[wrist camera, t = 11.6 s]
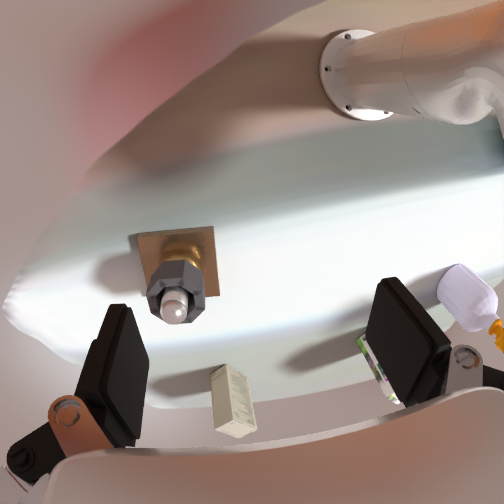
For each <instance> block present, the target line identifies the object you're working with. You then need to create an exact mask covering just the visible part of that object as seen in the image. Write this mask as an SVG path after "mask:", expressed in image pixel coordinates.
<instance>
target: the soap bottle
mask: <svg viewBox="0 0 504 504" xmlns="http://www.w3.org/2000/svg"><path fill="white" fill-rule="evenodd" d="M437 298H438V300H439V301H440V302H441V303H442V304H443V305H444V306H445V307H446V309H447V310H448V311H449V312H450V313H451V314H452V315H453V316H454V318H455V319H456V320H457V321H458V322H459V323H460V324H461V326H462V327H463V328H464V329H465V330H467V331H469V332H475V331H479V330H481V329H483V328H484V329H485V330H486V331H487V332H488V333H489V334H490V335H493V334H496V335H497V337H496V342H495V344H496V346H497V348H498V349H501V350H502V352H503V353H504V328H502V327H501V324H502V321H501V319H500V318H498V316H497V315H496V310H497V304H498V298H497V296H496V293H495V291H494V290H493V289H492V288H491V287H490V286H489V285H488V284H486V283H485V282H484V281H483V280H482V279H481V278H480V277H479V276H478V275H476V274H475V273H474V272H473V271H472V270H471V269H470V268H468V267H467V266H466V265H463V264H458V265H455V266H453V267H452V268H450V269H449V270H448V271H447V272H446V273H445V274H444V276H443V277H442V279H441V280H440V282H439V285H438V288H437Z"/></svg>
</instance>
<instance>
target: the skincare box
mask: <svg viewBox="0 0 504 504" xmlns="http://www.w3.org/2000/svg"><path fill="white" fill-rule="evenodd" d="M210 381H211V393H212V405H213V416H214V426H215V430H217V431H220V432H222V433H225V434H228V435H231V436H233V437H236V438H242V437H244V436H246V435H248V434H250V433H252V432H255V431H257V425H256V420H255V416H254V410H253V405H252V400H251V395H250V389H249V384H248V379H247V377H246V376H245V375H243V374H241V373H240V372H238V371H236V370H235V369H233V368H232V367H230V366H228V365H224V366H223V367H221V368H219V369H218V370H216V371H215V372H213V373H212V374H210Z"/></svg>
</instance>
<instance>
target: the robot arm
mask: <svg viewBox="0 0 504 504" xmlns="http://www.w3.org/2000/svg"><path fill="white" fill-rule="evenodd" d="M345 36H346V38H345ZM325 68H327V71H325ZM319 72H320V78H321V82H322V85H323V88H324V90H325V92H326V94H327V96H328V97H329V99H330V100H331V101H332V102H333V104H334V105H335V106H336V107H337V108H338V109H340V110H341V111H342V112H344V113H345V114H347V115H348V116H351V117H353V118H356V119H360V120H365V121H377V120H381V119H384V118H387V117H389V116H390V115H392V114H393V113H398V114H404V115H410V116H415V117H421V118H426V119H431V120H435V121H440V122H446V123H450V124H456V125H468V124H472V123H475V122H478V121H480V120H481V119H483V118H484V117H486V116H487V115H488V114H489V113H490V112H491V111H492V110H494V111H495V113H496V116H497V118H498V121H499V124H500V128H501V132H502V136H503V138H504V0H498V1H495V2H492V3H489V4H486V5H483V6H480V7H477V8H474V9H470V10H467V11H464V12H460V13H456V14H452V15H448V16H443V17H439V18H434V19H429V20H425V21H421V22H416V23H412V24H408V25H404V26H400V27H397V28H393V29H389V30H386V31H382V32H379V33H375V32H372V31H369V30H364V29H352V30H347V31H344V32H342V33H340V34H338V35H336V36H335V37H333V38H332V39H331V40H330V41H329V42H328V43H327V45H326V46H325V48H324V50H323V52H322V54H321V59H320V68H319ZM346 105H347V107H348V108H347V109H346ZM383 111H384V112H383ZM365 338H366V341H367V343H368V345H369V347H370V349H371V350H372V352H373V354H374V356H375V358H376V359H377V361H378V363H379V365H380V367H381V368H382V370H383V372H384V374H385V376H386V378H387V379H388V381H389V383H390V385H391V387H392V389H393V391H394V393H395V394H396V396H397V398H398V400H399V401H400V402H403V403H404V405H405V407H406V408H405V409H402V410H400V411H397V412H394V413H390V414H387V415H384V416H381V417H378V418H374V419H371V420H367V421H364V422H360V423H356V424H353V425H349V426H345V427H341V428H337V429H333V430H328V431H324V432H319V433H315V434H309V435H304V436H299V437H293V438H287V439H281V440H274V441H267V442H259V443H251V444H242V445H232V446H219V447H203V448H164V449H163V448H159V449H158V448H125V446H131V447H135V442H136V439H139V438H140V434H141V424H142V416H143V407H144V399H145V392H146V384H147V377H148V371H149V358H148V355H147V352H146V350H145V347H144V344H143V341H142V338H141V335H140V333H139V330H138V327H137V324H136V321H135V318H134V314H133V311H132V309H131V307H127V306H126V304H111V305H110V306H109V308H108V310H107V313H106V315H105V318H104V321H103V323H102V326H101V329H100V331H99V334H98V337H97V339H95V340H93V341H92V343H91V346H90V349H89V351H88V354H87V357H86V360H85V363H84V366H83V369H82V372H81V375H80V378H79V381H78V384H77V388H76V391H75V394H74V396H73V395H66V396H62V397H60V398H58V399H56V400H55V401H54V402H53V403H52V404H51V406H50V408H49V410H48V420H49V422H47V423H46V424H44V425H42V426H41V427H40V428H38V429H36V430H35V431H33V432H32V433H30V434H28V435H27V436H25V437H24V438H22V439H21V440H19V441H18V442H16V443H14V444H13V445H12V446H11V447H10V449H9V451H8V453H7V464H8V465H7V466H6V467H4V466H1V468H0V504H504V372H503V371H500V370H497V369H494V368H491V367H488V366H485V365H483V360H482V357H481V355H480V353H479V352H478V351H477V350H476V349H474V348H473V347H471V346H468V345H457V346H455V347H454V348H453V349H452V348H451V347H450V344H451V342H450V340H449V339H448V338H447V336H446V335H445V334H444V333H443V331H442V330H441V329H440V328H439V326H438V325H437V324H436V323H435V321H434V320H433V319H432V318H431V316H430V315H429V314H428V313H427V312H426V310H425V309H424V308H423V307H422V306H421V304H420V303H419V302H418V301H417V300H416V299H415V297H414V296H413V295H412V294H411V293H410V292H409V291H408V289H407V288H406V287H405V286H404V285H403V284H402V283H401V281H400V280H399V279H398V278H397V277H390V278H383V279H382V280H381V282H380V283H378V285H377V288H376V293H375V297H374V301H373V305H372V309H371V313H370V317H369V321H368V325H367V329H366V332H365ZM417 403H418V404H417ZM416 404H417V405H416ZM413 405H414V406H413Z"/></svg>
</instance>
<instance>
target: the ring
mask: <svg viewBox="0 0 504 504" xmlns="http://www.w3.org/2000/svg"><path fill="white" fill-rule="evenodd" d="M170 286H182V287H183V288H185V289H186V290H188V291H189V292H191V294H190V295H189V296H188V308H187V316H186V318H185V319H184V320H183V321H182V322H181V323H179V324H182V323H192V322H193V321H194V320H195V319H196V318H197V317H198V316H199V315H200V314H201V313H202V312H203V311H204V310H205V287H204V279H203V272H202V271H201V270H199V269H198V268H197V267H195V266H194V265H192V264H191V263H189V262H188V261H187V260H185V259H184V260H172V261H163V262H162V264H161V265H160V266H159V267H158V268H157V270H156V271H155V272H154V273H153V274H152V276H151V279H150V282H149V286H148V289H147V293H146V296H147V300H148V304H149V307H150V311H151V313H152V314H153V315H155V316H157V317H158V318H160V319H162V320H163V318H162V316H161V314H160V307H161V302H162V297H163V292H164V291H163V290H162V289H163V288H164V287H170ZM163 321H164V320H163ZM165 322H166V321H165ZM168 324H169V323H168Z"/></svg>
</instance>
